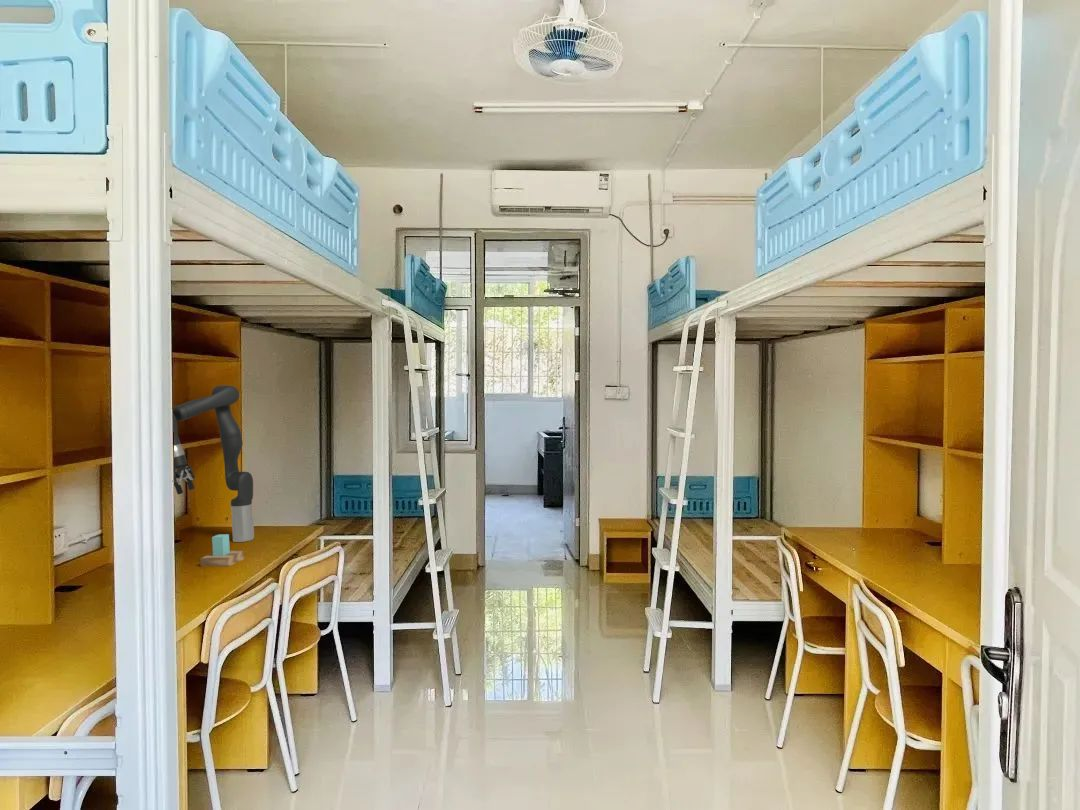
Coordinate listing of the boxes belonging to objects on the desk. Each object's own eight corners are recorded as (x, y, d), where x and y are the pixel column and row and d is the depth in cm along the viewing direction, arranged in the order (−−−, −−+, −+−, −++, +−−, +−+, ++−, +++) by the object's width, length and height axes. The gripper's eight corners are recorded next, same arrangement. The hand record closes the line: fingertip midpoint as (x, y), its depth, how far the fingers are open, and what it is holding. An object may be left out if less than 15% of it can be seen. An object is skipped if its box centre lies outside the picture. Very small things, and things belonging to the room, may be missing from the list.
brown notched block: (217, 560, 286) (217, 550, 286) (244, 559, 285) (243, 550, 285) (200, 567, 274) (200, 558, 274) (228, 567, 273) (227, 558, 273)
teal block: (219, 553, 282) (218, 534, 282) (229, 553, 281) (228, 534, 281) (213, 556, 277) (212, 537, 277) (223, 555, 277) (222, 536, 276)
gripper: (173, 456, 281) (184, 493, 282) (192, 451, 295) (203, 486, 297) (156, 461, 282) (168, 497, 283) (176, 455, 296) (187, 490, 297)
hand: (186, 491), depth 290 cm, fingers open, 8 cm apart
